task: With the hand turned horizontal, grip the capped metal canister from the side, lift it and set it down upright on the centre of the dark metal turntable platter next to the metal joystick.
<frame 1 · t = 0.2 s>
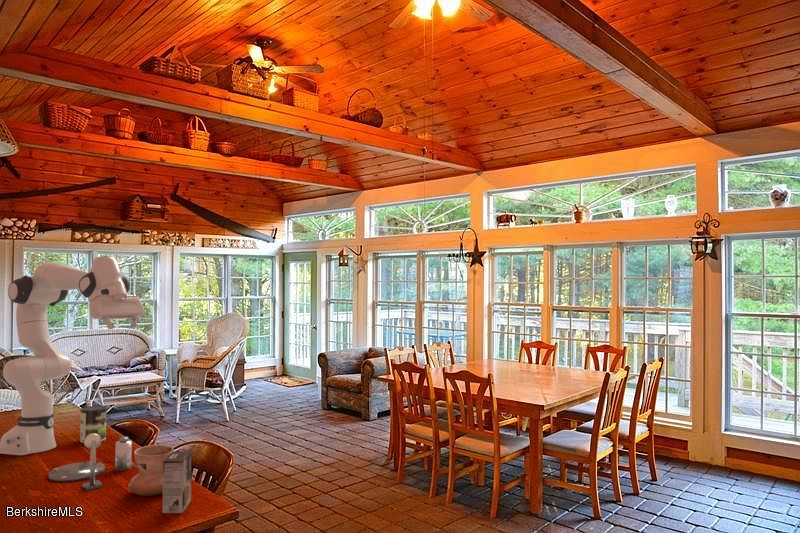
hand: (123, 328, 209), 53 cm above the table, tool tilted 25°, fingers open, 8 cm apart
metal joystick: (92, 486, 193), on the table
ceramic jug: (154, 491, 190), on the table
coffee can: (93, 440, 248), on the table
capped metal canister: (123, 468, 212), on the table
coffee box: (176, 508, 176), on the table
turntable: (77, 471, 206), point 1 cm above the table, hinge at 0.0°
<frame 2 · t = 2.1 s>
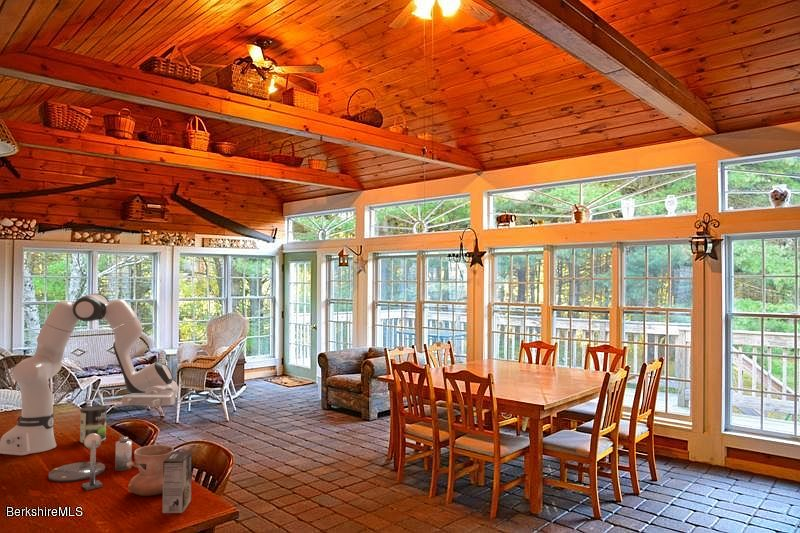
hand: (139, 403, 224), 22 cm above the table, tool horizontal, fingers open, 8 cm apart
nothing on the table moved.
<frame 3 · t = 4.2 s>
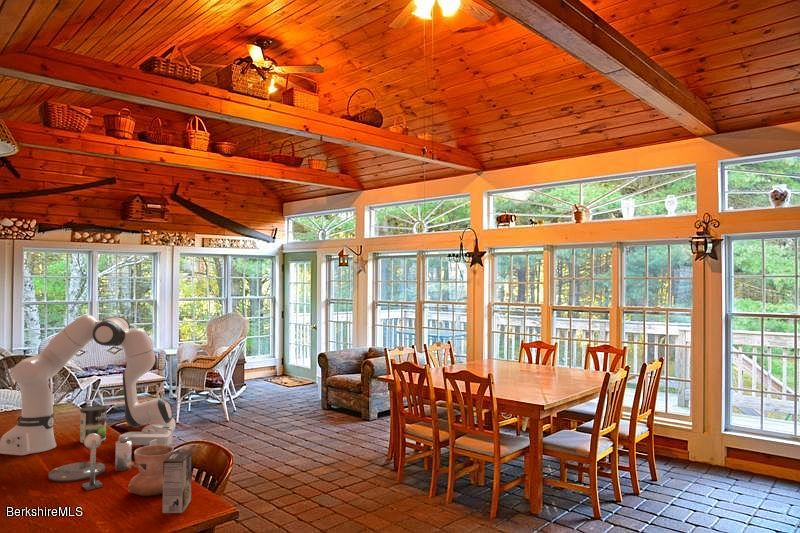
hand: (136, 444, 222), 6 cm above the table, tool horizontal, fingers open, 8 cm apart
nothing on the table moved.
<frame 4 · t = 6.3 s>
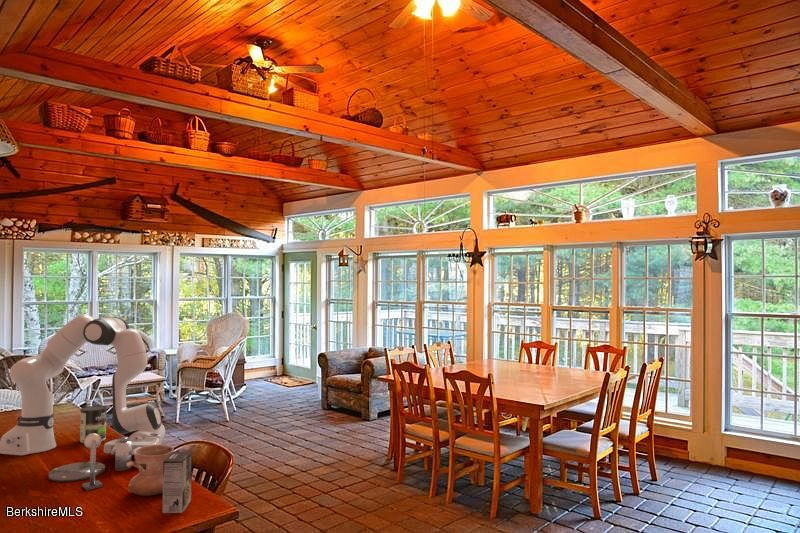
hand: (122, 452, 211), 6 cm above the table, tool horizontal, fingers closed on capped metal canister, 6 cm apart
capped metal canister: (123, 468, 212), on the table, touching gripper
everything else where it was.
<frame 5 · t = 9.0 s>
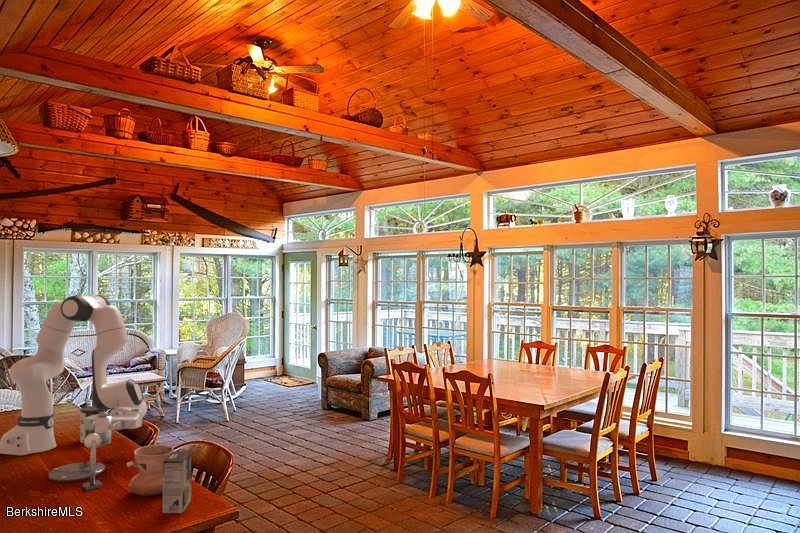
hand: (101, 427, 209), 16 cm above the table, tool horizontal, fingers closed on capped metal canister, 5 cm apart
capped metal canister: (102, 443, 210), point 10 cm above the table, touching gripper
everything else where it was.
when the fingers open (9 cm above the table, at t = 11.6 s): capped metal canister stays where it is, resting on turntable.
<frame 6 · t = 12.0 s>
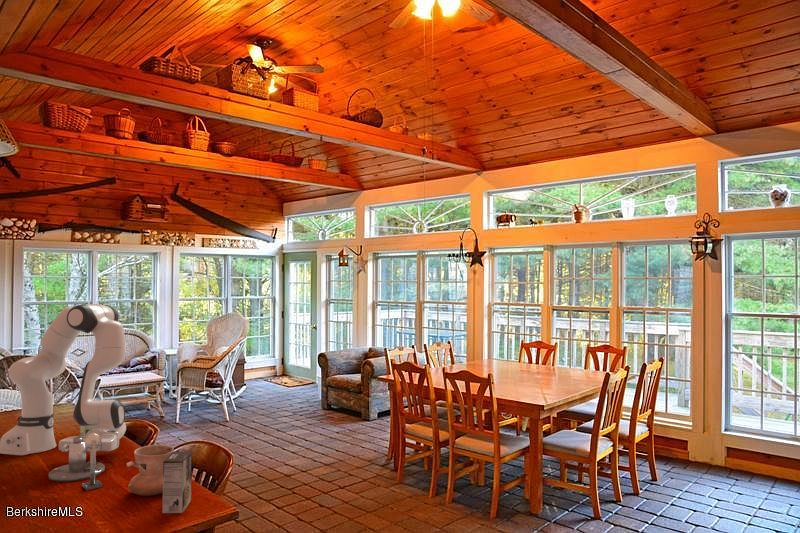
hand: (76, 450, 205), 9 cm above the table, tool horizontal, fingers open, 8 cm apart
capped metal canister: (77, 469, 206), point 1 cm above the table, touching turntable
turntable: (77, 471, 206), point 1 cm above the table, hinge at 0.0°, touching capped metal canister
everything else where it was.
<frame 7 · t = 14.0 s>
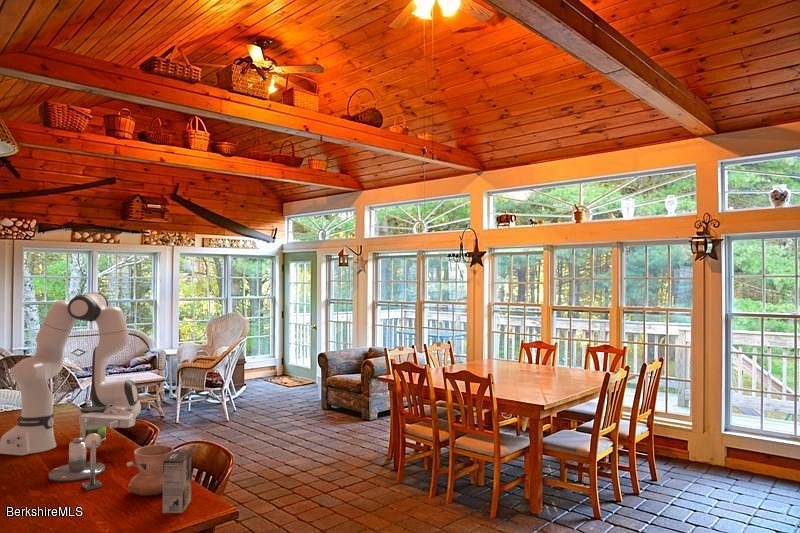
hand: (96, 425, 218), 14 cm above the table, tool horizontal, fingers open, 8 cm apart
nothing on the table moved.
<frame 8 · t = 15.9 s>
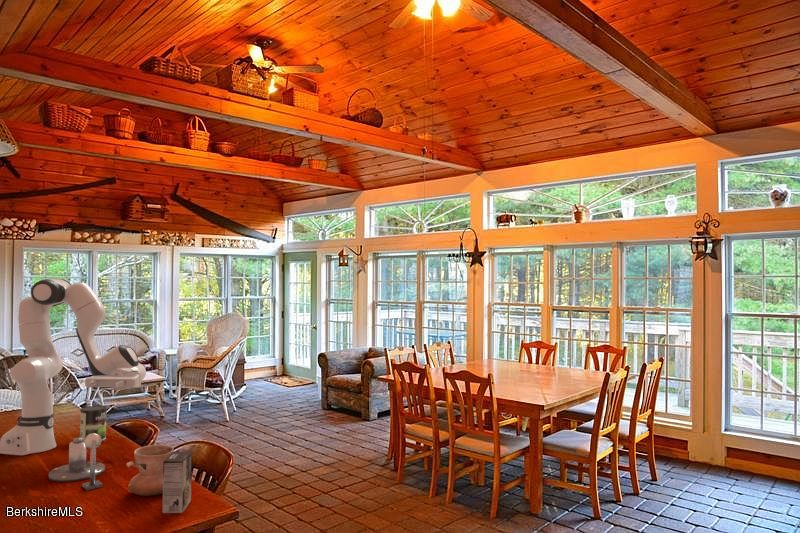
hand: (102, 385, 219), 30 cm above the table, tool horizontal, fingers open, 8 cm apart
nothing on the table moved.
at the end: capped metal canister inside the target area on the turntable (0.1 cm from its centre), point 1.2 cm above the turntable's base; capped metal canister tilted 0°; the gripper is holding nothing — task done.
